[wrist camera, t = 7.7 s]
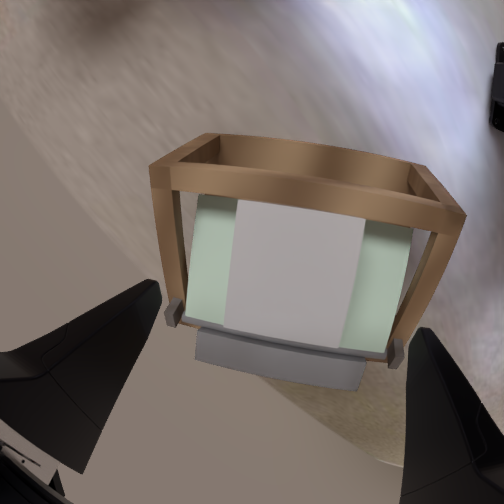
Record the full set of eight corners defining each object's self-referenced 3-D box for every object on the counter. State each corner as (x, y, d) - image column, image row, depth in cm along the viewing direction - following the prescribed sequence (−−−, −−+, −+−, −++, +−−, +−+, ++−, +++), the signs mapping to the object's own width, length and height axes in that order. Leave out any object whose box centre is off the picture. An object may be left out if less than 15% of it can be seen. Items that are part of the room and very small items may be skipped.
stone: (349, 214, 15) (365, 219, 10) (332, 306, 16) (338, 348, 11) (261, 200, 15) (238, 199, 11) (249, 291, 16) (223, 327, 12)
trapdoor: (411, 228, 15) (418, 229, 14) (372, 383, 16) (375, 393, 15) (200, 194, 17) (192, 193, 16) (184, 347, 19) (177, 354, 17)
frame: (425, 165, 17) (477, 230, 10) (385, 291, 23) (394, 380, 16) (205, 133, 19) (132, 175, 12) (209, 261, 26) (165, 336, 19)
